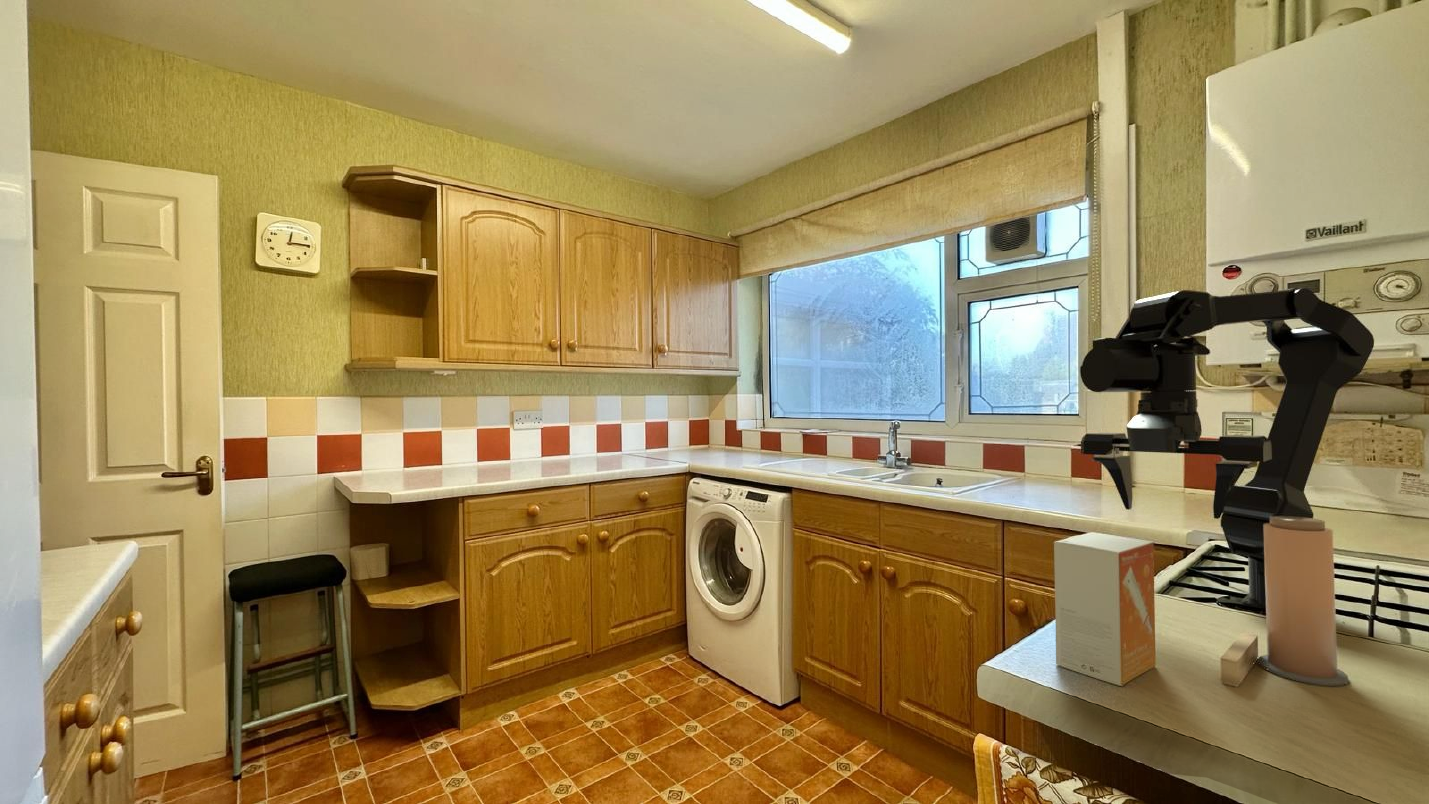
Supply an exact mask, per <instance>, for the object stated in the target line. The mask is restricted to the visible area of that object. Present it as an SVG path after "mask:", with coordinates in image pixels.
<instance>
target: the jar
mask: <svg viewBox="0 0 1429 804" xmlns="http://www.w3.org/2000/svg"><path fill="white" fill-rule="evenodd" d="M1263 531H1264V562H1265V593H1266V609H1265V616H1266V617H1265V618H1266V619H1265V620H1266V622H1265V623H1266V646H1267V647H1266V651H1267V654H1266V655H1268V662H1269V663H1270V664H1271V665H1273V666H1275V667H1277V668H1279V669H1282V670H1284V671H1287V672H1291V673H1295V674H1299V675H1303V676H1309V677H1316V678H1334V677H1336V676H1337V675H1338V672H1337V669H1338V653H1337V652H1338V648H1337V646H1338V645H1337V623H1336V621H1337V620H1336V618H1337V616H1336V589H1335V563H1334V562H1335V561H1334V560H1335V558H1334V534H1333V529H1331V528H1328V527H1326V520H1322V519H1318V518H1314V517H1313V518H1305V517H1294V516H1271V517H1270V523H1265V524H1263Z"/></svg>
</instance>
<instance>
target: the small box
mask: <svg viewBox="0 0 1429 804" xmlns="http://www.w3.org/2000/svg"><path fill="white" fill-rule="evenodd" d="M1154 544H1155V542H1153V541H1150V540H1149V541H1148V540H1144V539H1143V540H1142V539H1137V538H1131V537H1125V536H1120V535H1119V536H1118V535H1113V534H1107V533H1106V534H1105V533H1100V532H1096V531H1095V532H1094V531H1090V532H1087V533H1083V534H1079V535H1073V536H1069V537H1067V538H1064V539H1059V540H1055V541H1053V551H1054V552H1053V557H1054V559H1053V561H1054V563H1053V565H1054V566H1053V567H1054V571H1053V572H1054V603H1055V605H1054V606H1055V608H1054V609H1055V610H1054V611H1055V612H1054V613H1055V615H1054V616H1055V664H1056V665H1057V666H1059V667H1062V668H1065V669H1068V670H1070V671H1073V672H1076V673H1080V674H1082V675H1085V676H1089V677H1091V678H1094V679H1098V680H1100V681H1103V682H1107V683H1110V684H1113V685H1116V686H1120V687H1123V686H1124V685H1126V684H1127V683H1128V682H1130V681H1131V680H1133V679H1135V678H1137V677H1139V676H1140V675H1142V674H1144V673H1146V672H1147V671H1149V670H1151V669H1154V668H1155V667H1156V666H1157V665H1156V664H1157V663H1156V659H1157V658H1156V617H1155V616H1156V613H1155V612H1156V611H1155V610H1156V609H1155V605H1156V604H1155V561H1154V560H1155V554H1154V550H1155V549H1154V546H1155V545H1154Z"/></svg>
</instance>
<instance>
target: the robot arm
mask: <svg viewBox="0 0 1429 804" xmlns="http://www.w3.org/2000/svg"><path fill="white" fill-rule="evenodd" d="M1296 319H1300V320H1301V321H1302V322H1304V323H1305V324H1308V325H1309V326H1308V325H1307V326H1300V327H1294V328H1291V327H1290V326H1289V325H1288V324H1287V323H1286V322H1285V321H1286V320H1296ZM1253 322H1262V323H1263V324H1264V325H1265V326H1266V340H1267V342H1268V344H1270V345H1271V346H1272V347H1273V348H1274V349H1275V350H1276V351H1277V352H1278V353H1279V354H1278V361H1277V364H1278V366H1279V368H1280V370H1281V372H1282V375H1283V377H1284V379H1285V381H1286V382H1285V386H1284V389H1283V392H1282V395H1281V398H1280V401H1279V404H1278V407H1277V410H1276V412H1275V416H1274V418H1273V422H1272V424H1271V428H1270V430H1269V433H1268V436H1265V435H1238V434H1237V435H1234V434H1233V435H1232V434H1227V435H1226V434H1225V435H1222V436H1221V435H1220V436H1219V438H1218V439H1215V440H1213V439H1200V438H1201V437H1202V432H1203V431H1202V422H1201V421H1202V420H1201V418H1200V415H1199V412H1198V399H1197V372H1196V371H1197V370H1196V367H1197V366H1196V365H1197V363H1196V357H1198V356H1209V355H1210V354H1211V350H1210V349H1209V348H1208V347H1207V346H1206V345H1205V344H1202V343H1201V342H1199V340H1197V338H1196V337H1194V336H1195V335H1197V334H1201V333H1204V332H1207V331H1210V330H1212V329H1214V328H1215V327H1217V326H1225V325H1235V324H1245V323H1253ZM1190 336H1191V337H1190ZM1192 336H1193V337H1192ZM1374 346H1375V339H1374V335H1373V334H1372V332H1371V331H1370V330H1369V328H1368V327H1366V326H1365V325H1364V324H1363V323H1362V322H1361V321H1360V320H1359V319H1358V318H1357V316H1356V315H1354V314H1353V313H1352V312H1350V311H1349V310H1346V309H1345V308H1341V307H1339V306H1336V305H1335V304H1332V303H1329V302H1327V301H1324V300H1322V299H1320V298H1319V297H1318V296H1317V295H1316V294H1315V292H1313V291H1312V290H1311V289H1309V288H1307V287H1299V286H1298V287H1292V288H1286V289H1280V290H1276V291H1274V290H1273V291H1263V292H1254V293H1253V292H1252V293H1243V294H1235V295H1223V296H1219V295H1212V294H1211V293H1209V292H1207V291H1199V290H1191V289H1182V290H1178V291H1174V292H1170V293H1169V292H1168V293H1163V294H1159V295H1155V296H1151V297H1145V298H1141V299H1138V300H1137V301H1135V302H1134V304H1133V306H1132V308H1131V309H1130V313H1129V316H1128V317H1127V319H1126V320H1125V322H1124V324H1123V325H1122V326H1121V328H1120V330H1119V331H1118V333H1117V335H1116V336H1115V337H1102V338H1095V339H1093V340H1092V349H1091V350H1089V351H1088V352H1087V353H1086V354H1085V357H1084V358H1083V360H1082V364H1081V365H1080V367H1079V374H1080V379H1081V381H1082V383H1083V385H1084V386H1085V387H1086V389H1087V390H1089V391H1091V392H1093V393H1137V392H1140V393H1139V394H1140V399H1138V404H1137V412H1136V415H1134V416H1133V417H1132V418H1131V420H1130V421H1129V422H1128V423H1127V425H1126V433H1127V434H1126V433H1125V432H1124V433H1123V432H1092V433H1090V432H1089V433H1085V434H1084V435H1083V437H1081V441H1080V455H1091V456H1092V457H1091V460H1092V461H1093V462H1099V463H1100V464H1101V465H1103V467H1104V468H1105V469H1106V471H1107V473H1109V475H1110V477H1111V479H1112V480H1113V482H1114V485H1115V488H1116V489H1117V493H1118V494H1119V498H1120V499H1121V501H1122V504H1123V506H1124V509H1125V510H1127V511H1129V510H1131V509H1132V506H1133V485H1132V484H1133V483H1132V467H1131V464H1132V463H1131V456H1130V455H1124V453H1125V452H1135V453H1136V452H1137V453H1140V452H1141V453H1161V454H1163V453H1164V454H1165V453H1167V454H1189V455H1191V454H1192V455H1216V456H1220V458H1222V460H1221V461H1220V462H1216V463H1215V464H1214V465H1215V475H1216V476H1215V477H1216V479H1215V483H1214V484H1215V485H1214V495H1213V502H1212V503H1213V504H1212V505H1213V506H1212V508H1213V519H1217V520H1218V519H1220V527H1221V530H1222V533H1223V535H1224V537H1225V540H1226V542H1227V547H1228V549H1229V552H1230V553H1231V554H1233V555H1234V554H1235V555H1242V556H1246V557H1247V559H1248V560H1247V562H1248V564H1247V565H1248V591H1249V593H1247V595H1246V596H1245V597H1244V598H1242V600H1241V605H1243V606H1246V607H1247V606H1248V607H1252V608H1256V609H1257V608H1258V609H1262V610H1266V593H1265V562H1264V531H1263V524H1265V523H1270V517H1271V516H1294V517H1305V518H1313V519H1314V512H1313V510H1312V507H1311V506H1310V503H1309V500H1308V498H1307V496H1306V494H1305V488H1306V485H1307V483H1308V479H1309V476H1310V474H1311V470H1312V466H1313V465H1314V461H1315V458H1316V455H1317V452H1318V449H1319V447H1320V444H1321V441H1322V437H1323V434H1324V431H1325V429H1326V427H1327V426H1326V425H1327V422H1328V419H1329V418H1330V417H1329V416H1330V415H1331V414H1330V413H1331V411H1332V407H1333V404H1334V401H1335V399H1336V396H1337V393H1338V391H1339V390H1340V389H1341V388H1343V387H1344V386H1346V385H1347V384H1348V383H1349V382H1351V381H1352V380H1353V379H1355V378H1356V377H1357V376H1359V375H1360V374H1361V373H1362V371H1363V369H1364V367H1365V366H1366V364H1367V362H1368V360H1369V358H1370V356H1371V354H1372V351H1373V349H1374ZM1182 442H1183V444H1181V443H1182ZM1093 455H1094V456H1093ZM1256 467H1257V468H1256ZM1251 468H1256V471H1255V473H1254V476H1253V478H1252V479H1250V481H1248V482H1247V483H1246V484H1244V485H1239V484H1238V485H1236V483H1237V482H1238V480H1239V479H1240V477H1241V476H1242V474H1243V473H1244V471H1245V470H1246V469H1251Z"/></svg>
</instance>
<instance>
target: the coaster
mask: <svg viewBox="0 0 1429 804" xmlns="http://www.w3.org/2000/svg"><path fill="white" fill-rule="evenodd" d="M1257 661H1259V662H1258V664H1259V663H1260V665H1261V666H1262V667H1263V668H1265V669H1268V670H1269V671H1271V672H1273V673H1275V674H1274V675H1276V674H1277V675H1276V676H1278V675H1280V676H1279V677H1281V676H1282V678H1284V677H1287V678H1290V679H1289V680H1291V679H1294V680H1296V681H1295V682H1298V681H1301V682H1300V683H1303V682H1305V683H1304V684H1308V683H1309V685H1313V684H1314V685H1316V686H1319V687H1321V686H1322V687H1323V686H1324V687H1342V686H1345V685H1344V684H1346V683H1347V682H1348V683H1349V676H1348V674H1346V673H1345V672H1344V671H1342V670H1341V669H1338V668H1337V672H1338V675H1337V676H1336V677H1334V678H1316V677H1309V676H1303V675H1299V674H1295V673H1291V672H1287V671H1284V670H1282V669H1279V668H1277V667H1275V666H1273V665H1271V664H1270V663H1269V662H1268V654H1264V655H1260V656H1258V659H1257ZM1260 665H1259V666H1260ZM1261 666H1260V667H1261ZM1262 667H1261V668H1262ZM1263 668H1262V669H1263ZM1265 669H1264V670H1265ZM1269 671H1268V672H1269ZM1271 672H1270V673H1271ZM1273 673H1272V674H1273ZM1287 678H1286V679H1287ZM1294 680H1293V681H1294ZM1297 680H1298V681H1297ZM1348 683H1347V684H1348ZM1347 684H1346V685H1347ZM1314 685H1313V686H1314Z"/></svg>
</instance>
